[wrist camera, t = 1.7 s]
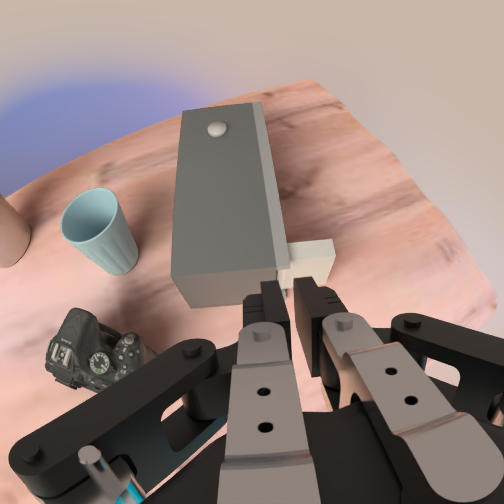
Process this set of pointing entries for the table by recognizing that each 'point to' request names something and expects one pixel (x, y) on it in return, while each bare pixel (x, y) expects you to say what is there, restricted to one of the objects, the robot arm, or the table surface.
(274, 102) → the table surface
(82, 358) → the camera
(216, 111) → the grey box
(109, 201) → the cup
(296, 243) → the side door
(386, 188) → the table surface
